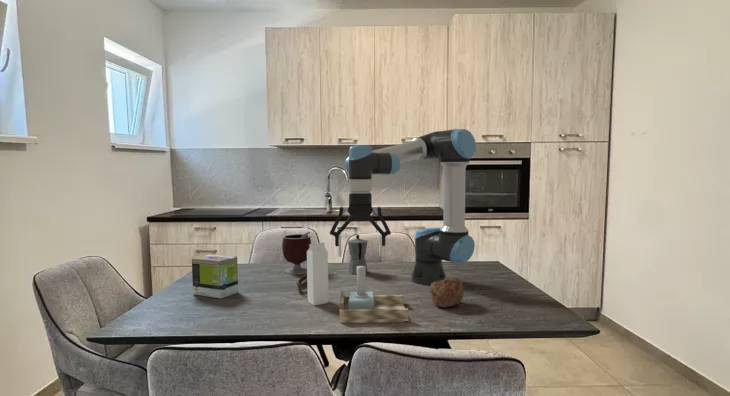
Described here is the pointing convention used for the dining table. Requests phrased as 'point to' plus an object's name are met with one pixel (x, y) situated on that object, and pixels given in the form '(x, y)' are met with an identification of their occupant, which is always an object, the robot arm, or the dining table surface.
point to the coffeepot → (357, 254)
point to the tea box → (215, 275)
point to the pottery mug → (302, 285)
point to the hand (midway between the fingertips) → (360, 255)
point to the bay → (375, 310)
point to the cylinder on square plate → (361, 292)
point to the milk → (317, 274)
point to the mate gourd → (296, 251)
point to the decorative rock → (447, 292)
